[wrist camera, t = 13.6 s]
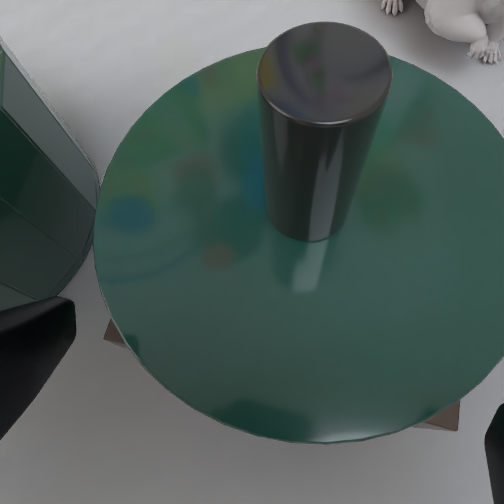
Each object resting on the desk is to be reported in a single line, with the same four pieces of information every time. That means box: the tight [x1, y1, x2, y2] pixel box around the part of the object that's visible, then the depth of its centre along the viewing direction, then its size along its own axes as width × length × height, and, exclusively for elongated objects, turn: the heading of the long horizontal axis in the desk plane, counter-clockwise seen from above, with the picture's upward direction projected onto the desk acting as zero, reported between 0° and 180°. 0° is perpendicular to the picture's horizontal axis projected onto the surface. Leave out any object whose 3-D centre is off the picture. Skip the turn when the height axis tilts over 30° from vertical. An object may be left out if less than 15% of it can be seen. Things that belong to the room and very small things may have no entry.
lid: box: [93, 22, 504, 445], centre depth 10 cm, size 13×13×6 cm
